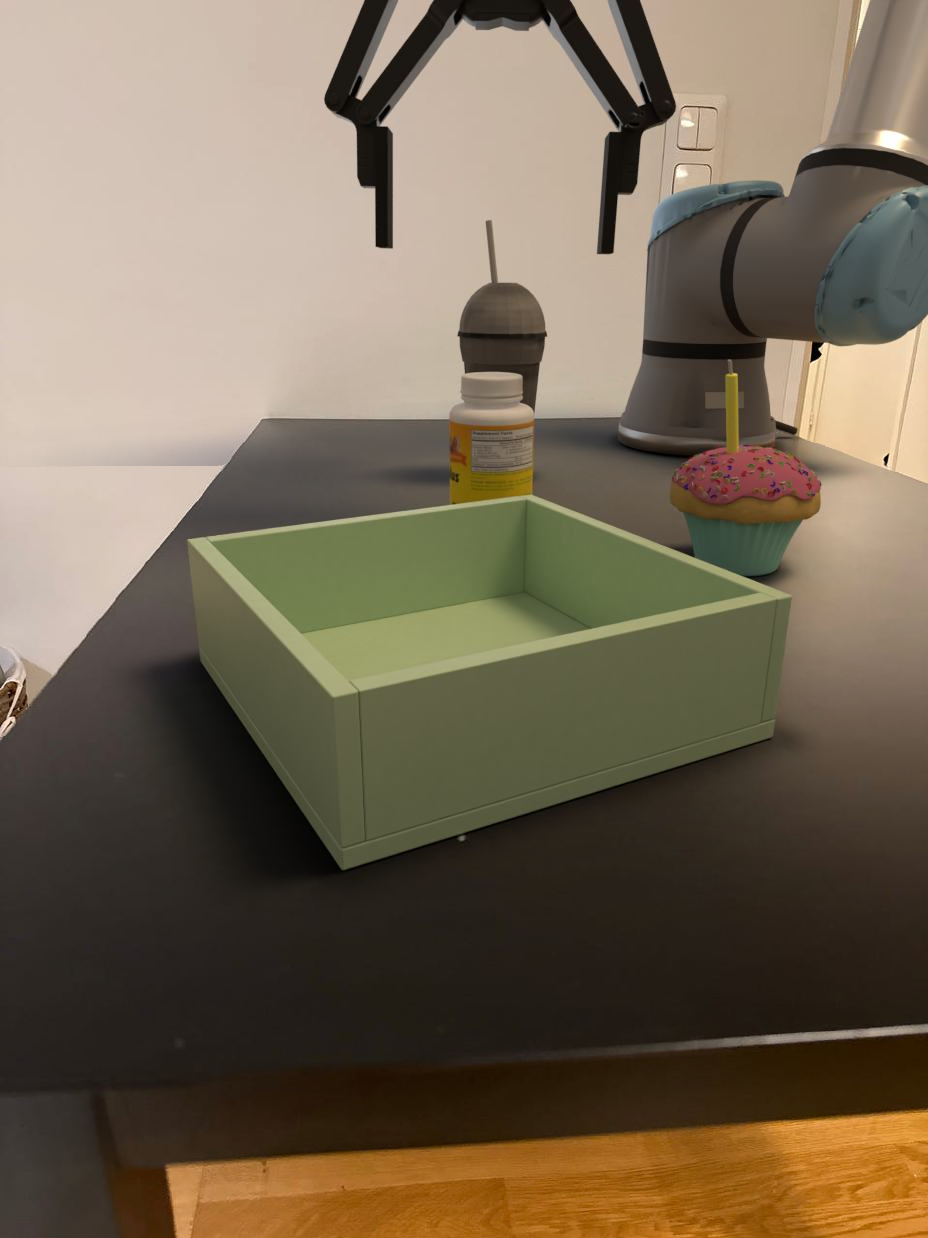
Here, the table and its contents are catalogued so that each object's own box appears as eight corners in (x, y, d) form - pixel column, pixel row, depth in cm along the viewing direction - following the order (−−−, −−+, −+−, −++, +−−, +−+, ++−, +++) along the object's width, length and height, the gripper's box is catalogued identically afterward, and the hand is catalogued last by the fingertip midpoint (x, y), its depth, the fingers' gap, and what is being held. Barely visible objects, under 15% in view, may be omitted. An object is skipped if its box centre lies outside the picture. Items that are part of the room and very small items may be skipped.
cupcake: (730, 595, 50) (755, 368, 46) (634, 554, 57) (648, 354, 53) (842, 573, 54) (875, 361, 50) (739, 537, 61) (760, 348, 57)
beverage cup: (537, 487, 74) (545, 217, 67) (449, 483, 76) (447, 218, 69) (548, 469, 81) (556, 221, 74) (466, 465, 82) (466, 222, 75)
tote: (528, 599, 50) (531, 493, 48) (773, 737, 35) (793, 595, 33) (200, 662, 42) (186, 539, 40) (341, 872, 27) (332, 696, 25)
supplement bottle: (455, 517, 66) (455, 369, 62) (533, 519, 65) (538, 370, 61) (443, 538, 61) (442, 378, 57) (528, 542, 60) (532, 380, 56)
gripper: (261, -213, 46) (279, 242, 54) (761, -207, 46) (710, 254, 53) (293, -148, 53) (305, 247, 61) (727, -142, 53) (686, 257, 60)
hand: (494, 251), depth 57 cm, fingers open, 13 cm apart
